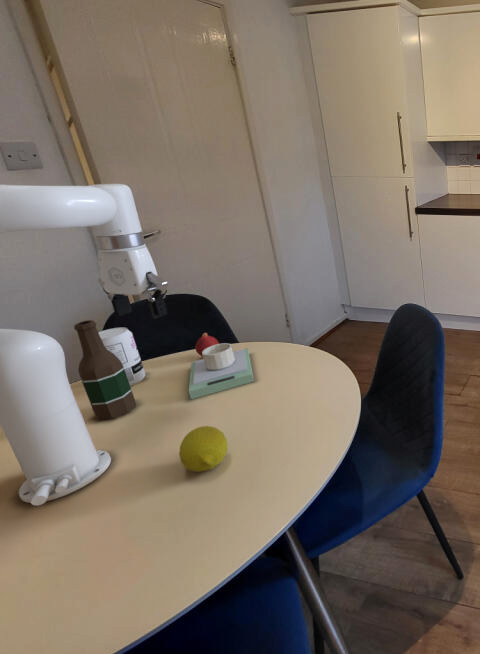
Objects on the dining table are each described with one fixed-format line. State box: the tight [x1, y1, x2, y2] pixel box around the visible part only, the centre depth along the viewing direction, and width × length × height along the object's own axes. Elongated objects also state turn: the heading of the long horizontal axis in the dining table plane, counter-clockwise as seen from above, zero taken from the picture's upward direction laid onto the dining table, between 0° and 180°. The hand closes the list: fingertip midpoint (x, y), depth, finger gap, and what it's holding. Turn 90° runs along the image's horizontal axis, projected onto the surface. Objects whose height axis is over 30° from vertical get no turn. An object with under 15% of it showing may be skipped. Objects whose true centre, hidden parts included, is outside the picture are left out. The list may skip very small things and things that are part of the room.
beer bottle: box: [73, 319, 137, 421], centre depth 99 cm, size 8×8×24 cm
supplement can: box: [98, 326, 146, 387], centre depth 113 cm, size 8×8×15 cm
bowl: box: [202, 342, 235, 370], centre depth 116 cm, size 7×7×5 cm
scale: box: [188, 348, 255, 400], centre depth 117 cm, size 18×14×3 cm
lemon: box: [178, 425, 228, 473], centre depth 84 cm, size 11×8×8 cm
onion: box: [194, 332, 220, 357], centre depth 126 cm, size 6×6×8 cm
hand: (141, 315), depth 95 cm, fingers open, 9 cm apart
